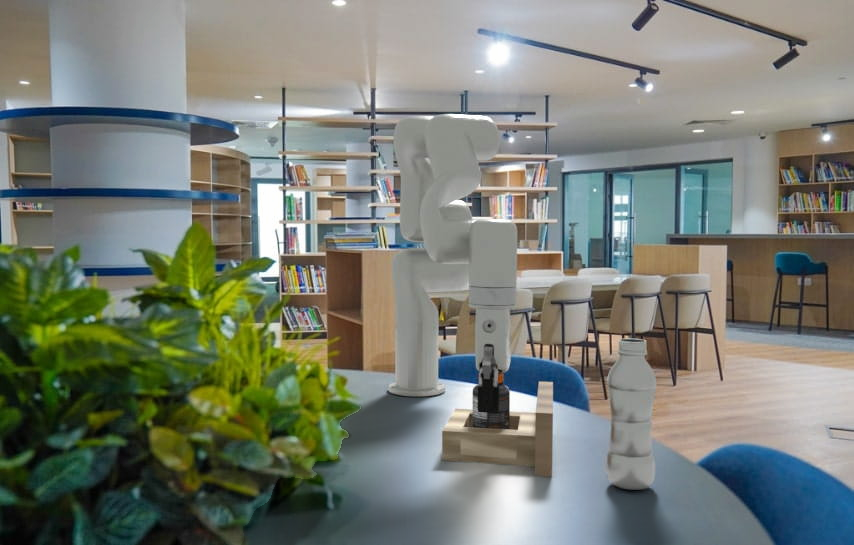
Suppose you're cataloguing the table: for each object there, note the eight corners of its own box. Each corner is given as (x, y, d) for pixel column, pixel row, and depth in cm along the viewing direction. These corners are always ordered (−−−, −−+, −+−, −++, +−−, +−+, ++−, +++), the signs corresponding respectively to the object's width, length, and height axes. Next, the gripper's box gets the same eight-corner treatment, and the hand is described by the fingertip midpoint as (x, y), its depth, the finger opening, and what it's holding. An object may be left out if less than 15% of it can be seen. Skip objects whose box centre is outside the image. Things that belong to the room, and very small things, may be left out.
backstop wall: (538, 432, 118) (538, 381, 117) (552, 433, 117) (552, 382, 117) (534, 475, 96) (535, 412, 96) (552, 476, 96) (552, 413, 95)
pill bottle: (509, 437, 111) (509, 369, 111) (509, 448, 105) (510, 376, 105) (472, 436, 112) (473, 368, 111) (471, 447, 106) (472, 375, 105)
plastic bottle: (663, 486, 92) (666, 340, 91) (641, 499, 87) (644, 345, 86) (619, 475, 97) (622, 335, 96) (596, 487, 92) (598, 340, 91)
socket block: (455, 434, 117) (455, 408, 116) (537, 439, 114) (538, 412, 114) (442, 460, 103) (442, 430, 103) (535, 466, 100) (535, 436, 100)
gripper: (513, 303, 98) (511, 420, 99) (519, 293, 115) (517, 393, 116) (461, 302, 100) (460, 417, 100) (475, 292, 117) (473, 391, 117)
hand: (491, 404), depth 108 cm, fingers open, 9 cm apart
